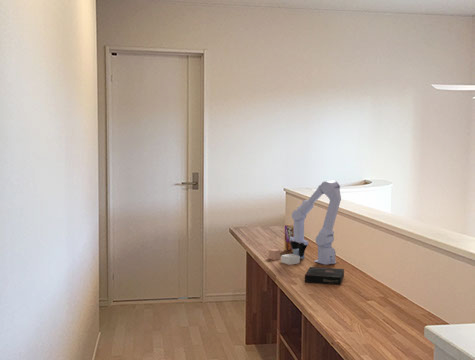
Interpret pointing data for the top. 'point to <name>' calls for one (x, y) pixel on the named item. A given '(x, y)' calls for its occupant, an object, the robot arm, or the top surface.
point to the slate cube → (297, 253)
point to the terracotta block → (274, 254)
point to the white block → (290, 259)
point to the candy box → (288, 237)
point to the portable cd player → (324, 275)
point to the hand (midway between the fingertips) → (298, 255)
